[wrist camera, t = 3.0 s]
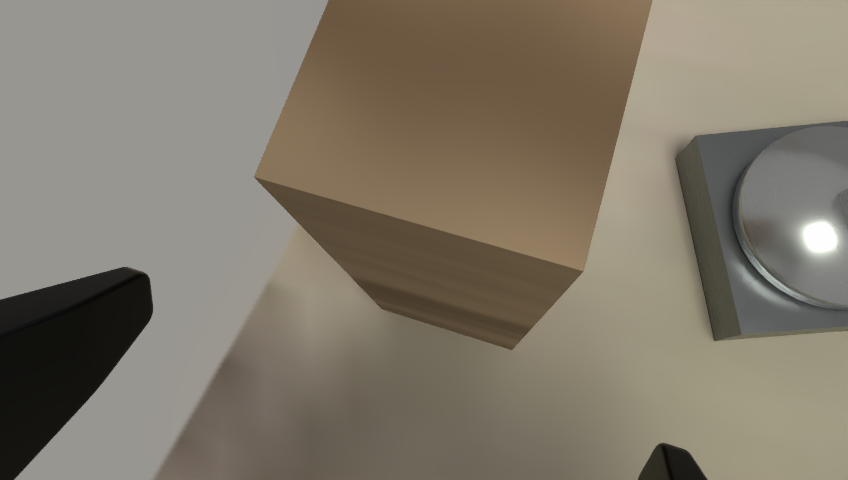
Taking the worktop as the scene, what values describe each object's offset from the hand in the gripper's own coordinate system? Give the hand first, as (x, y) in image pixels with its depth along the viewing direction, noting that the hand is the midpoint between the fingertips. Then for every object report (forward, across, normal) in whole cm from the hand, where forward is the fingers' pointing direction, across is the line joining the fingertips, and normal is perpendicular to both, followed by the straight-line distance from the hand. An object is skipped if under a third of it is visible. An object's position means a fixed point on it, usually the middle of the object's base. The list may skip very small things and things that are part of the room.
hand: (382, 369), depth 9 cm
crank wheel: (+13, -11, 0) cm, 17 cm away
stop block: (+11, 0, +5) cm, 12 cm away
